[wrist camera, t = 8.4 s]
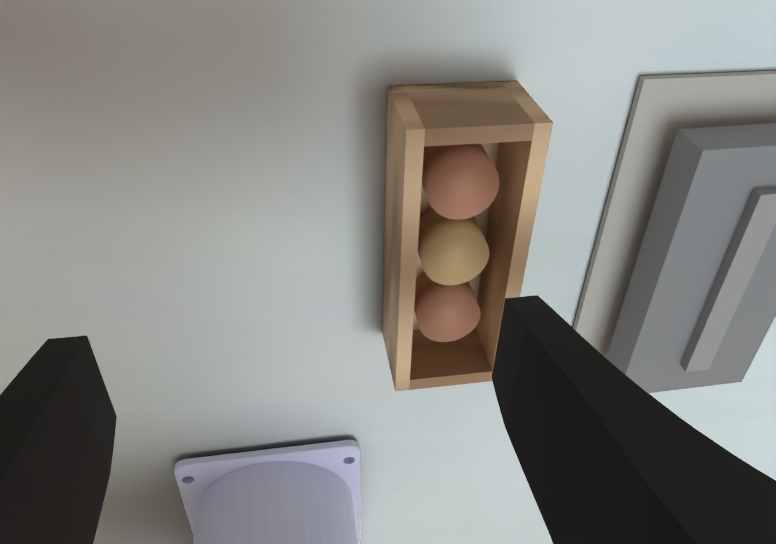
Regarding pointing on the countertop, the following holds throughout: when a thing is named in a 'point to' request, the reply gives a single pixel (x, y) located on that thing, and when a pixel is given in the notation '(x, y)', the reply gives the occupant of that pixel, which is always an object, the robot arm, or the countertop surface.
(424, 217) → the box
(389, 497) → the countertop surface
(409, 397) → the countertop surface
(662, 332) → the lid
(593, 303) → the mat
